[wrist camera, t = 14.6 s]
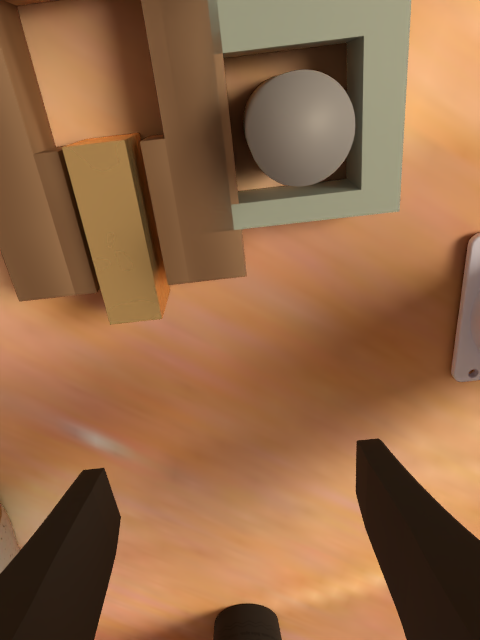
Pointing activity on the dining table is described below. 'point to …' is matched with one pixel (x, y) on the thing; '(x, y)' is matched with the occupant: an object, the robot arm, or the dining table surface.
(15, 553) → the ceramic mug
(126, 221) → the brown rectangular block
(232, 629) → the drinking cup
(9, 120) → the socket block
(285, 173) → the rack
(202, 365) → the dining table surface
